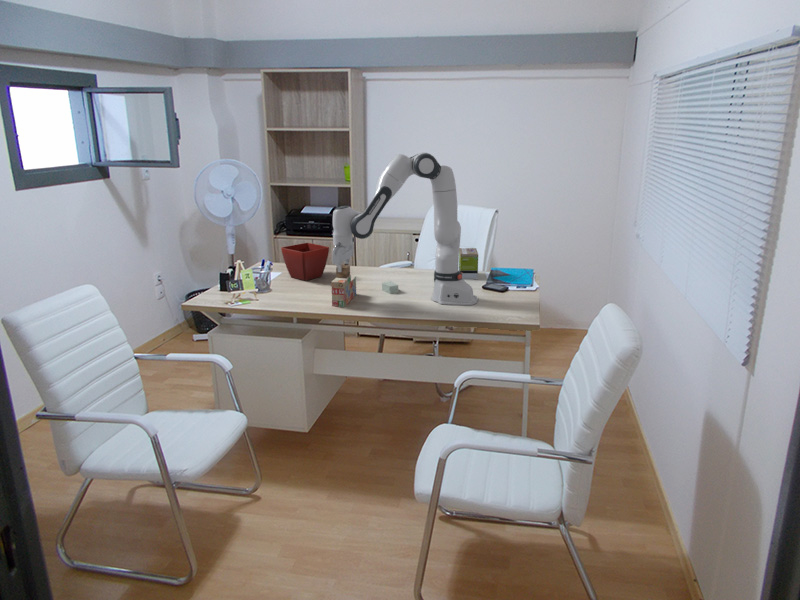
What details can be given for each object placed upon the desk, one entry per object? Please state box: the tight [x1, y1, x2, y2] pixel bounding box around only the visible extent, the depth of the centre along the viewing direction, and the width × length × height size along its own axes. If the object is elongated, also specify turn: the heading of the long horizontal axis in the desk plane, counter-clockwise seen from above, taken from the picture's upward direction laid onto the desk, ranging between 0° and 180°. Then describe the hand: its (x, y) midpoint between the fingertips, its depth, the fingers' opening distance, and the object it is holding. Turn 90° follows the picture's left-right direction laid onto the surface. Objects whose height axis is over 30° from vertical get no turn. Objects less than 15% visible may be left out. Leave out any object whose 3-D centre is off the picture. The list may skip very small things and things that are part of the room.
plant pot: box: [280, 242, 330, 281], centre depth 324 cm, size 19×19×17 cm
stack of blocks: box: [330, 274, 357, 308], centre depth 285 cm, size 21×6×12 cm, turn 169°
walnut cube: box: [335, 264, 351, 278], centre depth 281 cm, size 5×5×5 cm
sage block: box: [381, 281, 399, 295], centre depth 301 cm, size 5×8×4 cm, turn 30°
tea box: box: [458, 247, 479, 280], centre depth 328 cm, size 15×10×15 cm, turn 178°
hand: (343, 269), depth 280 cm, fingers open, 8 cm apart
